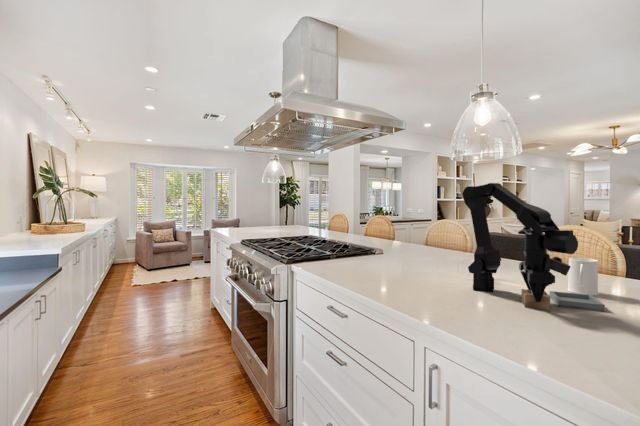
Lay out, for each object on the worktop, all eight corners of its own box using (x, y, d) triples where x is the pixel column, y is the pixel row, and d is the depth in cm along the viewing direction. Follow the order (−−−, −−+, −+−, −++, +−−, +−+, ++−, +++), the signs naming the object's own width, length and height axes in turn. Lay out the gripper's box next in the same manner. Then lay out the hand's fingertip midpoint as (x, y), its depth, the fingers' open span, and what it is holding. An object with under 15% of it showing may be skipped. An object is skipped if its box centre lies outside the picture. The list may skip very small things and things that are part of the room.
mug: (594, 299, 103) (595, 263, 102) (562, 293, 109) (563, 260, 109) (600, 292, 110) (601, 259, 110) (570, 287, 117) (570, 256, 116)
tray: (558, 306, 96) (558, 300, 96) (549, 296, 106) (549, 290, 106) (604, 311, 91) (604, 304, 91) (590, 300, 101) (590, 294, 101)
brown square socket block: (525, 307, 96) (525, 294, 95) (521, 301, 101) (521, 289, 101) (550, 309, 93) (550, 296, 93) (544, 303, 99) (544, 291, 99)
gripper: (578, 255, 85) (577, 311, 85) (558, 246, 102) (557, 293, 102) (530, 253, 89) (529, 306, 90) (519, 245, 106) (518, 289, 107)
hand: (535, 298), depth 97 cm, fingers open, 8 cm apart
